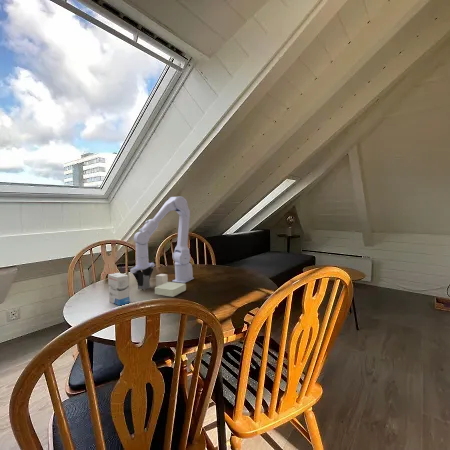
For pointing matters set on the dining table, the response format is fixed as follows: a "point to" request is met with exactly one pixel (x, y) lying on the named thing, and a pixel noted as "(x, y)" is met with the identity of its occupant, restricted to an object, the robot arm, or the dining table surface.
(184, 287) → the sage board
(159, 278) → the off-white pillar
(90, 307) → the dining table surface
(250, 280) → the dining table surface
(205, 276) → the dining table surface
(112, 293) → the ink box
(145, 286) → the grey rectangular prism
